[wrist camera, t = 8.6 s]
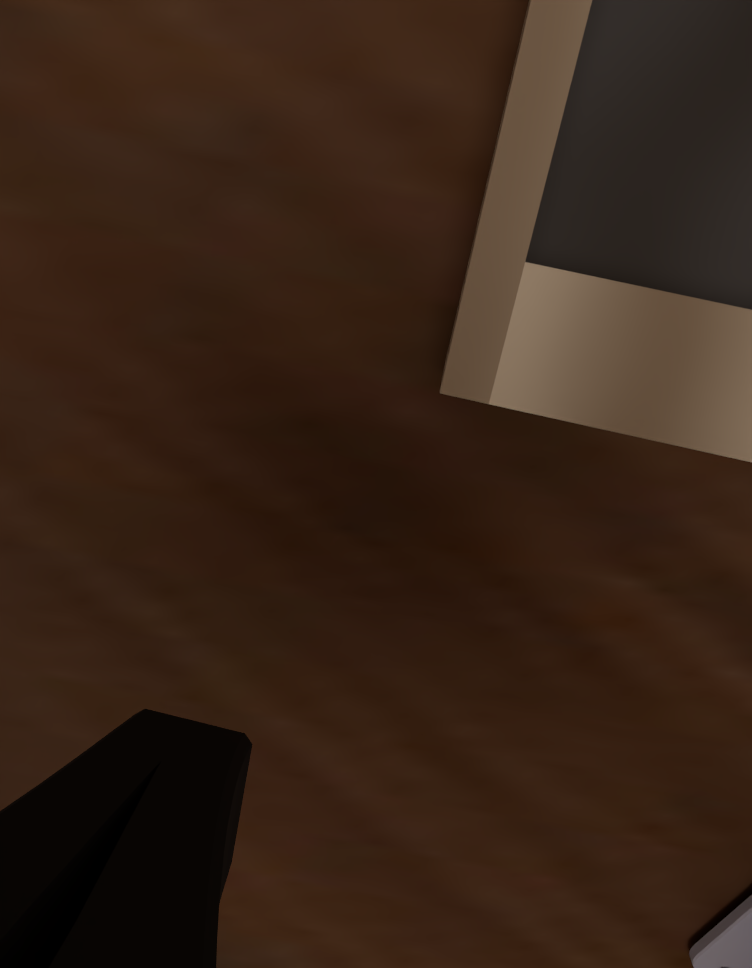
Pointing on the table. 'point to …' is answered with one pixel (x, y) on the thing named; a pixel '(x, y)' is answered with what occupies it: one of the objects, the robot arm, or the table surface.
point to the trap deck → (619, 227)
